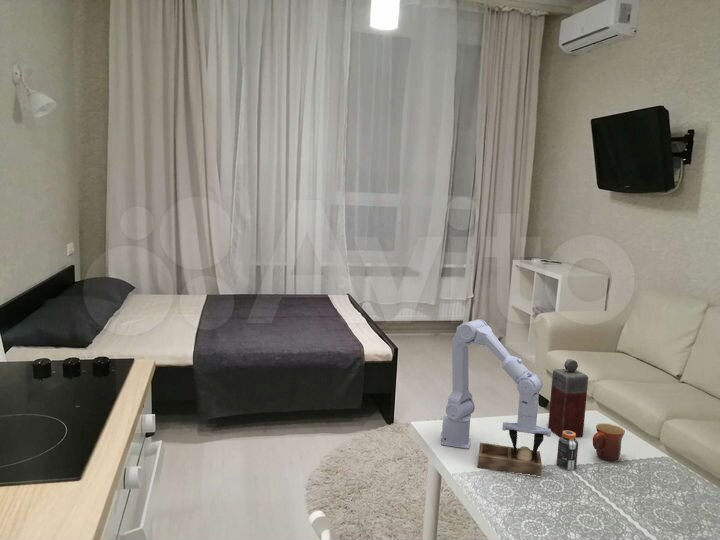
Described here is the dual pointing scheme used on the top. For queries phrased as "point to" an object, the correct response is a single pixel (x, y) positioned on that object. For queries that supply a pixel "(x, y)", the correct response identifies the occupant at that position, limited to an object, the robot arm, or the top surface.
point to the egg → (524, 454)
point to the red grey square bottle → (568, 400)
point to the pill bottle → (567, 450)
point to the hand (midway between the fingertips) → (524, 454)
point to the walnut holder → (507, 460)
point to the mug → (608, 441)
